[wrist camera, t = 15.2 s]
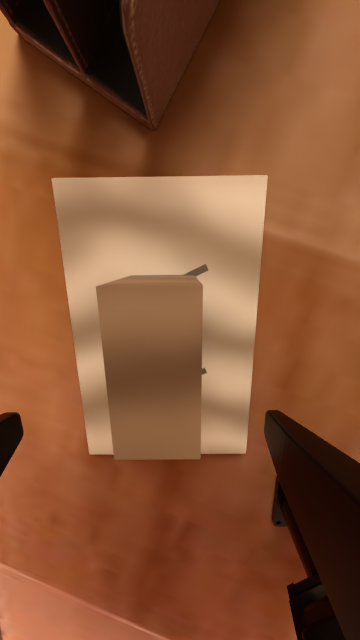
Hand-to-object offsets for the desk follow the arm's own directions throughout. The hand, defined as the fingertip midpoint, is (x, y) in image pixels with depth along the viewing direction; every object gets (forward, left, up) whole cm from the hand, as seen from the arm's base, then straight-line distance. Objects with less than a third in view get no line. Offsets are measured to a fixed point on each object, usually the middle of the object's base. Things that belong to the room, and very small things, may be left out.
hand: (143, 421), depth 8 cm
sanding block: (0, 0, -10) cm, 10 cm away
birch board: (0, 0, -11) cm, 11 cm away
